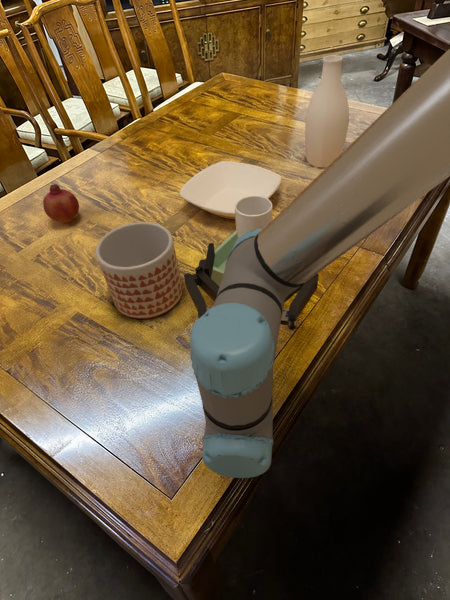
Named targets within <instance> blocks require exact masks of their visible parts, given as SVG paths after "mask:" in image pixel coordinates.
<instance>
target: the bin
mask: <svg viewBox="0 0 450 600" xmlns="http://www.w3.org/2000/svg"><path fill="white" fill-rule="evenodd" d="M237 239H238V236H237V230H236V229H235V230H234V232H232V233H231V234H230V235H229V236H228V237H227V238H226V239H225V240H224V241H223V242H221V244H220V245H218V246H217V247H216V248H214V251H215V259H214V265H213V271H212V277H211V279H212V280H213V281H214V282H215V283H216V284H217V285H218V286H220V284H221V280H222V277H223V274H224V271H225V267H226V261H227V259H228V255H229V253H230V252H231V251H232V248H233V246H234V244H235V242H236V241H237Z"/></svg>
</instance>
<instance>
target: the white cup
mask: <svg viewBox="0 0 450 600" xmlns="http://www.w3.org/2000/svg"><path fill="white" fill-rule="evenodd" d="M273 210H274V209H273V203H272V201H271V200H270V199H269V198H268V199H267V198H265V197H262V196H248V197H244V198H242V199H240V200H239V201H238V202H237V203H236V205H235V219H234V221H235V228H236V229H235V231H236V230H237V236H238V238H239V237H240V236H241V235H242V234H244V233H246V232H249V231H253V230H255V229H264V228H265V227H266V226H267V225H268V224H269V223H270V222H271V221H272V220H273V219H274V212H273Z"/></svg>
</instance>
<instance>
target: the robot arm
mask: <svg viewBox="0 0 450 600" xmlns="http://www.w3.org/2000/svg"><path fill="white" fill-rule="evenodd" d="M449 177H450V48H449V49H448V50H446V52H444V53H443V54H442V55H441V56H440V57H439V58H438V59H436V61H435V62H434V63H433V64H432V65H431V66H430V67H429V68H428V69H427V70H426V71H424V73H422V74H421V76H419V78H418V79H416V81H414V82H413V83H412V84H411V85H410V86H409V87H408V88H407V89H406V90H405V91H404V92H403V93H402V94H401V95H400V96H399V97H398V98H397V99H396V100H395V101H394V102H393V103H392V104H390V106H388V107H387V109H386V110H384V111H383V112H382V113H381V114H380V115H379V116H378V117H377V118H376V119H375V120H374V121H373V122H372V123H370V125H369V126H368V127H367V128H365V130H364V131H363V132H362V133H360V135H359V136H357V137H356V138H355V139H354V141H352V142H351V143H350V145H348V146H347V147H346V148H345V149H343V152H342V153H341V154H340V155H339V156H338V157H337V158H336V159H335V160H334V161H333V162H332V163H331V164H330V165H329V166H328V167H326V168H324V169H323V170H322V171H321V172H320V173H319V174H318V175H317V176H316V177H315V178H314V179H313V180H312V181H311V182H310V183H309V184H308V185H306V187H305V188H304V189H303V190H302V191H300V193H298V194H297V195H296V196H295V197H294V199H292V200H291V201H290V202H289V203H288V204H287V205H286V206H285V207H284V208H283V209H282V210H281V211H280V212H279V213H278V214H276V216H275V217H273V220H272V221H271V222H270V223H269V224H268V225H267V226H266V227H265V228H264V229H255V230H253V231H249V232H246V233H244V234H242V235H241V236H240V237H239V238H238V239H237V241H236V242H235V244H234V246H233V248H232V251H231V252H230V253H229V255H228V259H227V261H226V267H225V271H224V274H223V277H222V280H221V284H220V286H218V285H217V284H216V283H215V282H214V281H213V280H212V279H211V277H212V271H213V265H214V259H215V251H214V250H215V245H214V242H208V246H207V251H206V257H205V258H204V259H203V258H202V259H200V260H199V261H198V266H196V267H195V273H193V274H192V273H191V272H187V273H184V274H183V277H184V278H183V279H184V283H185V288H186V290H187V292H188V295H189V297H190V299H191V301H192V303H193V305H194V307H195V309H196V311H197V317H198V318H197V320H196V321H195V322H194V323H193V325H192V328H191V330H190V335H189V346H190V361H191V368H192V370H193V375H195V376H194V377H195V379H196V385H197V387H198V392H199V395H200V399H201V404H202V409H203V415H204V419H205V422H204V423H205V424H204V425H205V426H204V433H203V435H202V438H201V439H202V444H203V445H202V454H201V457H202V461H203V464H204V466H206V468H208V470H210V471H212V472H213V473H215V474H216V475H220V476H224V477H227V478H233V479H249V478H255V477H258V476H260V475H262V474H264V473H266V472H267V471H268V470H269V469H270V467H271V465H272V455H273V454H272V453H273V445H274V439H273V435H274V434H273V432H274V430H273V428H274V426H273V425H274V405H273V404H274V396H273V394H274V391H273V390H274V389H273V386H274V374H275V373H274V372H275V371H274V370H275V368H274V367H275V358H276V353H277V347H278V341H279V335H280V328H281V325H282V326H287V329H289V330H290V331H294V330H297V328H298V327H297V326H298V318H299V317H300V315H301V314H302V313H303V311H304V309H305V308H306V306H307V305H308V303H309V302H310V300H311V299H312V297H313V296H314V294H315V292H316V291H317V289H318V286H319V272H322V271H323V270H324V269H326V268H327V267H328V266H329V265H331V264H332V263H334V262H335V261H336V260H338V259H339V258H340V257H342V256H343V255H344V254H347V252H348V251H350V250H351V249H353V248H354V247H355V246H357V245H358V244H360V243H361V242H363V241H364V240H365V239H367V238H368V237H369V236H370V235H372V234H373V233H375V232H376V231H377V230H379V229H380V228H382V227H383V226H384V225H386V224H387V223H388V222H390V221H391V220H392V219H393V218H395V217H396V216H397V215H399V214H400V213H402V212H403V211H404V210H406V209H407V208H409V207H410V206H411V205H413V204H414V203H415V202H417V201H418V200H419V199H421V198H422V197H423V196H425V195H427V194H428V193H429V192H431V191H432V190H433V189H434V188H436V187H437V186H439V185H440V184H442V183H443V182H444V181H446V180H447V179H448V178H449ZM199 288H200V289H201V290H202V291H203V292H204V293H205V294H206V295H207V296H208V297H209V298H210V300H212V301H213V302H214V303H213V304H212V307H208V306H207V302H206V300H205V298H204V296H203V294H202V292H201V290H200V289H199ZM294 295H295V296H294ZM293 296H294V298H293V299H292V301H291V302H290V304H289V307H285V310H284V306H285V303H286V302H287V301H289V300H290V299H291V298H292V297H293Z"/></svg>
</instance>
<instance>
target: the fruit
mask: <svg viewBox="0 0 450 600" xmlns="http://www.w3.org/2000/svg"><path fill="white" fill-rule="evenodd" d="M42 203H43V204H42V207H43V211H44V213H45V214H46V216H47V217H49V218H50V219H51V221H55V222H57V223H63V224H65V223H70V222H71V221H73V220H74V219H75V218H76V217H77V215H78V214H79V210H80V204H79V200H78V198H77V197H76V195H75V194H74V193H72V192H71V191H70V190H67V189H63V188H61V187H60V186H59V185H58V184H56V183H54V184H51V185H50V186H49V192H47V193H46V194H45V196H44V197H43V200H42Z"/></svg>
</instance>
